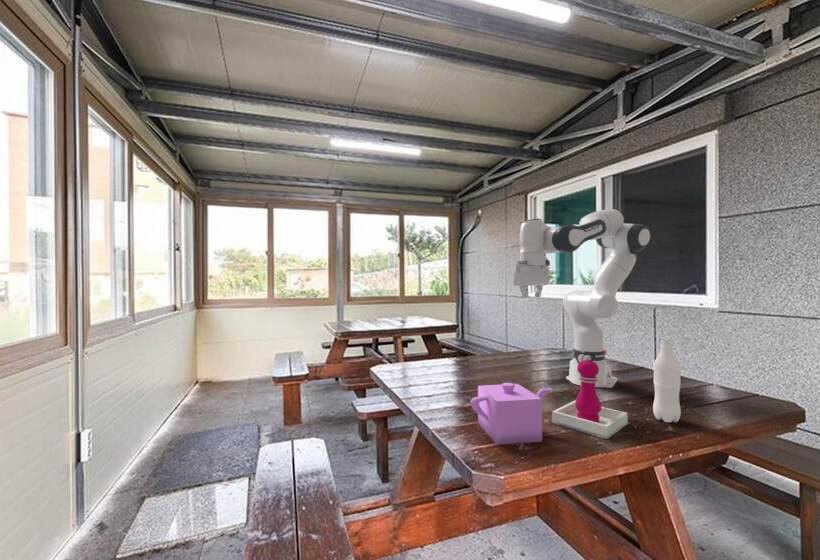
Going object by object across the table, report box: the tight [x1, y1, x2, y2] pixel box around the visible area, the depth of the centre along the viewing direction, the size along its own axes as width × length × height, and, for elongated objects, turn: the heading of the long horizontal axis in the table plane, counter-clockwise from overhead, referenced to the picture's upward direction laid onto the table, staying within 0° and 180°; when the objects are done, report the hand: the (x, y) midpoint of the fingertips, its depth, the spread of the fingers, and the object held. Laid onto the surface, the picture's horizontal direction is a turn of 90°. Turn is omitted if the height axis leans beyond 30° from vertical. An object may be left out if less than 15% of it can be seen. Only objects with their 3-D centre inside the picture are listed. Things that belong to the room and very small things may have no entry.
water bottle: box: [652, 339, 682, 424], centre depth 118 cm, size 7×7×25 cm
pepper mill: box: [575, 355, 602, 423], centre depth 116 cm, size 7×7×20 cm
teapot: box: [469, 382, 553, 446], centre depth 109 cm, size 15×25×14 cm, turn 99°
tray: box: [551, 399, 628, 440], centre depth 115 cm, size 16×16×4 cm
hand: (531, 297), depth 144 cm, fingers open, 8 cm apart
